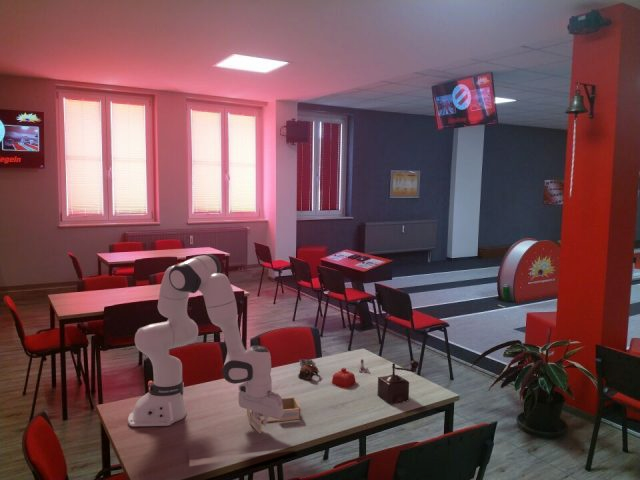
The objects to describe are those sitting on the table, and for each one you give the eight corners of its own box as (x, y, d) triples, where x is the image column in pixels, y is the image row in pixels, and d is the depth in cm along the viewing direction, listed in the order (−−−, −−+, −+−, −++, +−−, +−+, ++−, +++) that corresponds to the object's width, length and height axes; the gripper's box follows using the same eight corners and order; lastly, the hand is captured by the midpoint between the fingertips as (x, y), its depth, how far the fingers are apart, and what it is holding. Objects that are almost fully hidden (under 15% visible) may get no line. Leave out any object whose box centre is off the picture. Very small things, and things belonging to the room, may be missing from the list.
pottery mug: (294, 377, 246) (300, 361, 248) (310, 384, 248) (316, 368, 250) (301, 380, 235) (308, 363, 237) (318, 387, 237) (325, 371, 239)
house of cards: (374, 378, 246) (375, 363, 245) (357, 377, 247) (357, 362, 247) (375, 372, 255) (375, 357, 254) (358, 371, 256) (358, 357, 255)
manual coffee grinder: (389, 406, 213) (390, 366, 211) (376, 397, 223) (377, 358, 221) (419, 401, 219) (421, 361, 217) (406, 392, 229) (407, 354, 227)
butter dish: (326, 385, 236) (326, 368, 235) (341, 379, 245) (341, 362, 244) (346, 392, 228) (346, 374, 228) (360, 385, 237) (360, 367, 237)
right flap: (278, 421, 196) (278, 411, 195) (277, 420, 196) (277, 410, 196) (300, 418, 198) (300, 408, 198) (300, 418, 199) (300, 408, 199)
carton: (250, 424, 194) (250, 412, 194) (246, 413, 204) (246, 401, 203) (299, 419, 200) (300, 407, 199) (294, 408, 209) (294, 397, 209)
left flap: (249, 423, 193) (249, 413, 193) (251, 423, 194) (251, 412, 193) (259, 433, 185) (259, 422, 185) (261, 433, 186) (261, 422, 185)
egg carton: (316, 371, 251) (316, 363, 251) (302, 373, 250) (301, 365, 250) (313, 364, 262) (312, 356, 261) (299, 365, 261) (298, 358, 260)
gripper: (286, 391, 185) (287, 427, 186) (246, 380, 197) (247, 413, 198) (275, 397, 180) (276, 434, 181) (235, 385, 192) (236, 419, 193)
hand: (261, 423), depth 190 cm, fingers closed
